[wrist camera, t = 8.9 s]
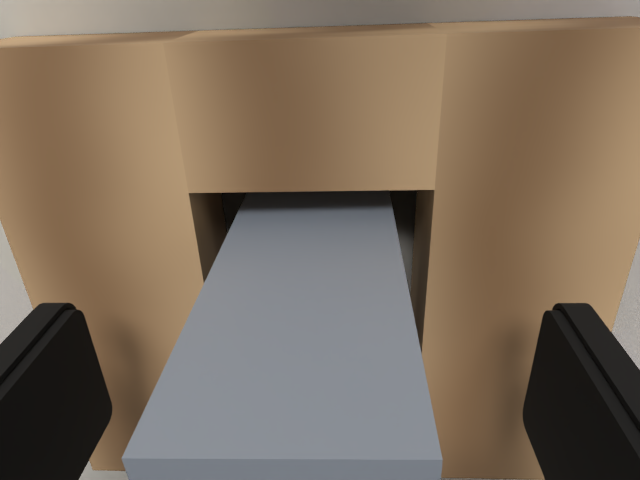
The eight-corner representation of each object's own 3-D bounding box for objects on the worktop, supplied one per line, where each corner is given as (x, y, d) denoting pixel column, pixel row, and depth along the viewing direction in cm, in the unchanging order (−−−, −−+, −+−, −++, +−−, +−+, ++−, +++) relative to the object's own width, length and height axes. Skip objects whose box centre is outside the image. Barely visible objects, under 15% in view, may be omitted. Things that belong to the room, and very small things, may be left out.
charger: (386, 179, 13) (445, 475, 5) (385, 317, 15) (427, 675, 7) (250, 184, 13) (113, 473, 5) (267, 318, 15) (185, 667, 7)
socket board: (630, 16, 11) (703, 25, 9) (537, 413, 16) (566, 480, 14) (15, 36, 12) (-63, 49, 9) (125, 407, 17) (92, 470, 15)
